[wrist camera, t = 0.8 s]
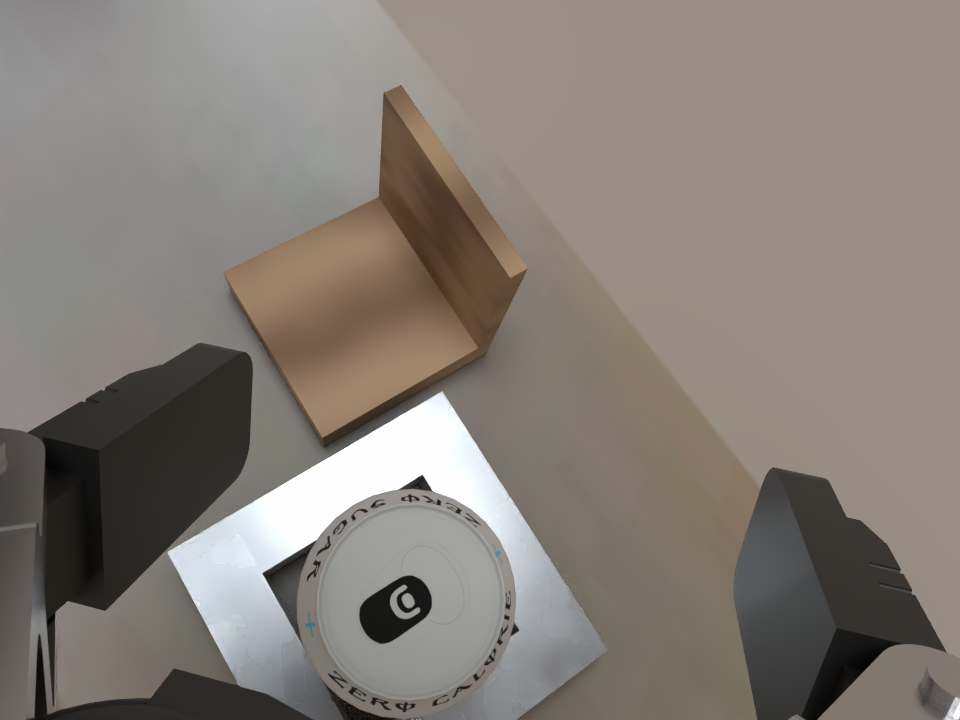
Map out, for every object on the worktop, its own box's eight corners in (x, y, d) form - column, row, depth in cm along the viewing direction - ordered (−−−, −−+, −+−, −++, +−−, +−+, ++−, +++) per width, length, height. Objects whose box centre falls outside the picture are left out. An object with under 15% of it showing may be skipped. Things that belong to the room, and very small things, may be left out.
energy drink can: (484, 624, 34) (573, 634, 20) (365, 706, 32) (369, 783, 18) (413, 507, 35) (449, 437, 21) (294, 581, 33) (246, 560, 19)
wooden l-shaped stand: (230, 289, 37) (186, 179, 27) (391, 210, 39) (401, 85, 30) (324, 447, 35) (311, 387, 26) (486, 353, 38) (527, 268, 28)
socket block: (181, 556, 33) (167, 552, 30) (436, 405, 36) (442, 391, 34) (334, 839, 30) (332, 859, 28) (590, 647, 34) (607, 650, 32)
